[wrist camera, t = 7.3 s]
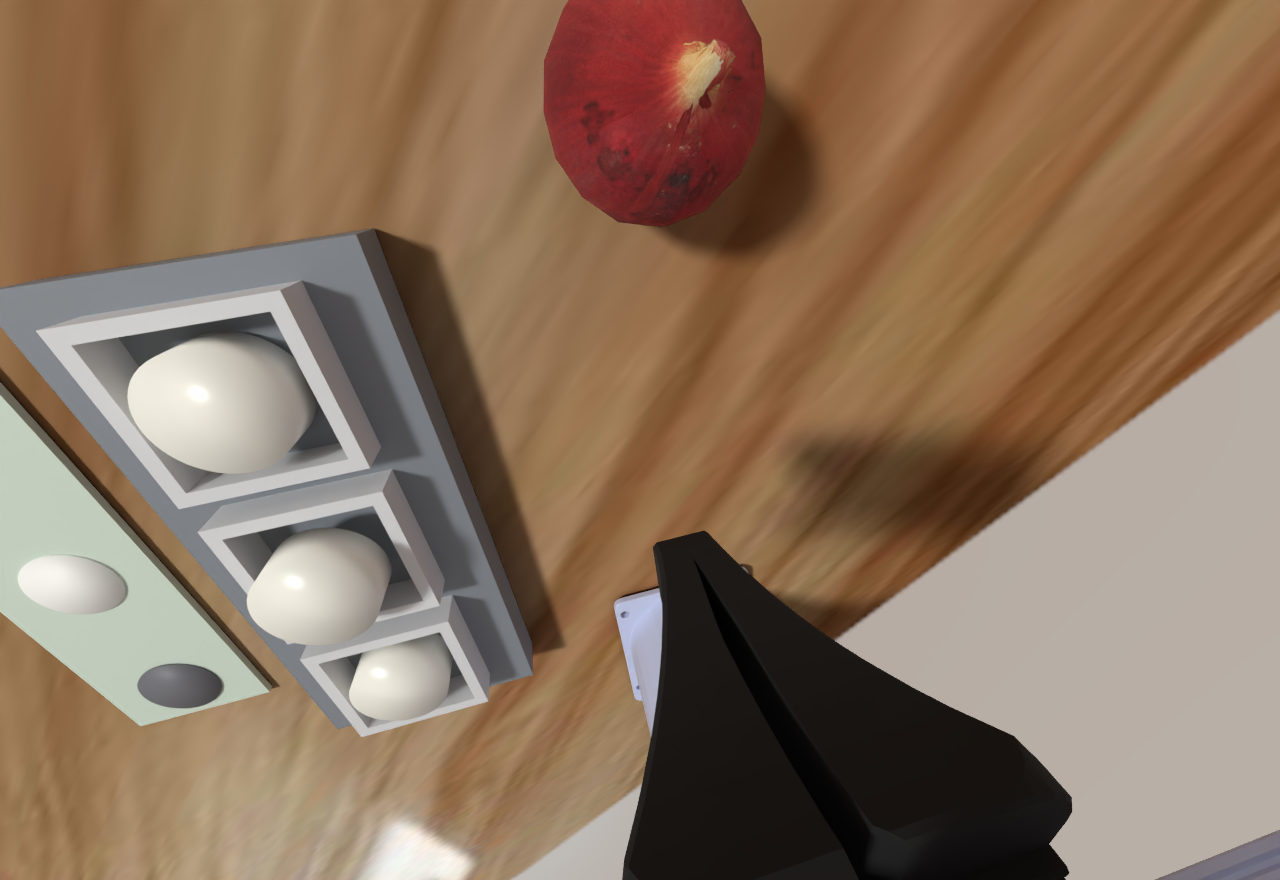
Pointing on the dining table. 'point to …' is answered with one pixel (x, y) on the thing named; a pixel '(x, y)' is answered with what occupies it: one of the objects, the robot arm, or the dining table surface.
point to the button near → (223, 402)
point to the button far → (402, 679)
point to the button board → (296, 445)
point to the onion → (653, 103)
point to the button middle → (320, 587)
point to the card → (103, 589)
